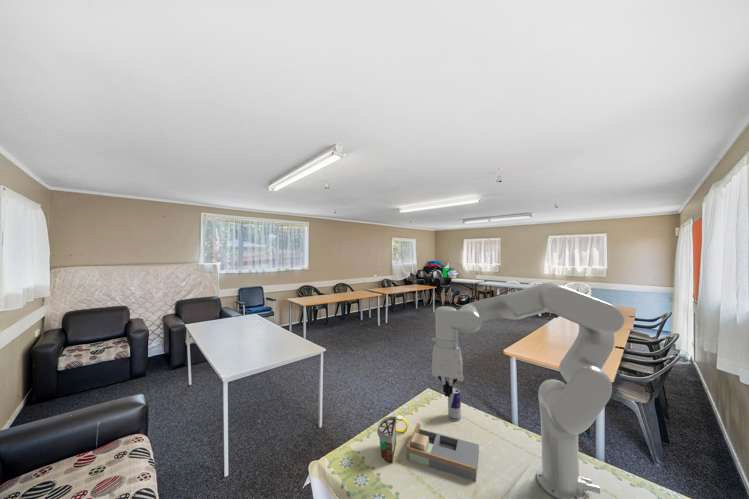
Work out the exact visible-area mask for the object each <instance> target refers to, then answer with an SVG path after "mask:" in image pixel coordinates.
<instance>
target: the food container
mask: <svg viewBox="0 0 749 499" xmlns="http://www.w3.org/2000/svg"><path fill="white" fill-rule="evenodd" d="M396 417H397V416H389V417H385V418H383V419H382V420H381V421H380V422H379V423H378V426H377V431H376V434H377V436H378V438H379V446H380V455H381V458H382V459H383V460H384V461H385V462H386V463H389V464H393V463H394V457H395V453H396V446H397V432H396V428H397V424H396V423H397V420H396Z"/></svg>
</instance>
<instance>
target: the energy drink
mask: <svg viewBox="0 0 749 499" xmlns="http://www.w3.org/2000/svg"><path fill="white" fill-rule="evenodd" d="M447 407H448V408H447V410H448V411H447V413H448V414H447V416H448V418H449V420H451V421H454V422H458V421H460V420H462V411H461V410H462V404H461V391H460V389H459V388H457V387H453V393H452V394H451V395H450V397H448V396H447Z"/></svg>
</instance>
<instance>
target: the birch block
mask: <svg viewBox="0 0 749 499" xmlns="http://www.w3.org/2000/svg"><path fill="white" fill-rule="evenodd" d="M428 446H429V437H428V436H425V435H422V434H419V433H415V435H414V437H413V438H412V440H411V447H412V448H415V449H418V450H422V451H425V452H426V450H427V448H428Z"/></svg>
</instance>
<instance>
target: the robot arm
mask: <svg viewBox="0 0 749 499" xmlns="http://www.w3.org/2000/svg"><path fill="white" fill-rule="evenodd" d="M547 312H550V313H553V314H555V315H556V316H558V317H561V318H563V319H565V320H568V321H570V322H571V323H574V324H577V325H578V333H577V336H576V338H575V339H574V341H573V343H572V345H571V346H570V348H568V351H567V352H566V353H565V355H564V357H563V358H562V359H561V360H560V362H559V366H558V370H559V373H560V375H561V377H562V378H563V380H564V381H565V382H566V383H564V382H563V381H560V380H558V379H554V378H553V379H552V378H551V379H545V381H542V382H541V384H540V385H539V388H538V393H537V395H538V396H537V397H538V404H539V412H540V413H539V414H540V415H539V416H540V433H541V434H540V435H541V436H540V438H541V465H542V466H540V467H538V469H536V480H537V482H538V484H539V485H540V486H541V488H542V489H543V490H545V492H546V493H548V494H549V495H550V496H552V497H553V498H555V499H587V492H588V491H590V492H592V493H594V494H598V495H601V490H600V489H601V488H600V486H599V485H596V484H594V483H593V481H592V479H591V478H588V477H584V476H583V475H581V474H580V462H579V460H580V459H579V457H580V456H579V434H582V433H584V432H586V431H587V430H588V429H589V428H590V427H591V425H593V424H594V422H595V421H596V419H597V418H598V416H599V415H600V414H601V412H602V411H603V410H604V408H605V406H606V405H607V404H608V402H609V400H610V399H611V397H612V392H613V384H612V380H611V379H610V377H609V376H608V374H607V373H606V372H605V371H604V370H602V369H603V368H604V366H605V364H606V362H607V360H608V359H609V357H610V356H611V353H612V352H613V351H614V346H615V333H617V332H619V331H620V330H621V329H622V328H623V327H624V324H625V316H624V314H623V313H622V311H621V310H620V308H618V307H616V306H615V305H614V304H611V303H608V302H605V301H603V300H601V299H598V298H596V297H592V296H590V295H587V294H585V293H581V292H579V291H576V290H574V289H572V288H570V287H568V286H565V285H562V284H559V283H556V282H544V283H540V284H538V285H537V284H536V285H534V286H530V287H527V288H523V289H520V290H517V291H513V292H509V293H506V294H500V295H497V296H492V297H487V298H482V299H479V300H476V301H472V302H469V303H467V304H463V305H462V306H460V308H459V309H456V308H455V307H453V306H447V305H446V306H438V307H437V308H436V309H435V316H434V317H435V337H432V338H431V342H434V343H435V344H434V345H433V350H432V360H431V372H432V373H431V375H432V376H433V377H435V378H438V379H439V381H440V382H441V384H442V386H443V387H442V389H443V390H442V392H443V393H444V397H447V398H448V397H450V395H451V394H452V393H453V388H454V386H453V385H454V384H455V383H456V382H464V380H465V378H464V377H465V376H464V373H463V372H464V365H463V356H462V349H461V347H460V345H459V335H458V334H459V331H461V332H465V333H475V332H477V331H479V330H480V329H481V327H482V325H483V324H482V322H485V321H488V320H492V319H508V320H521V319H525V318H528V317H532V316H535V315H539V314H543V313H547ZM447 379H449V380H447Z"/></svg>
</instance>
